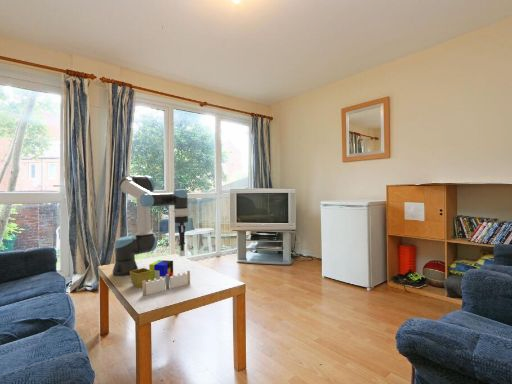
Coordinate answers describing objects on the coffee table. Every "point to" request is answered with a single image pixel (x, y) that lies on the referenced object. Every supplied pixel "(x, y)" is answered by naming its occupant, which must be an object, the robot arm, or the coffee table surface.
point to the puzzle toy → (161, 269)
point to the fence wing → (180, 279)
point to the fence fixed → (155, 285)
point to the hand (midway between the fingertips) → (182, 255)
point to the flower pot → (140, 276)
